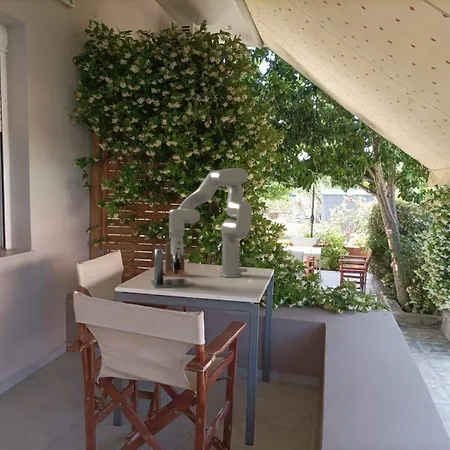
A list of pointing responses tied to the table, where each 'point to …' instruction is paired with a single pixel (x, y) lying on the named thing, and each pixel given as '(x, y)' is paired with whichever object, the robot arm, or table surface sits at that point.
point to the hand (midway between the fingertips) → (176, 269)
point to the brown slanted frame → (169, 258)
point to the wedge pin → (173, 266)
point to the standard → (166, 274)
